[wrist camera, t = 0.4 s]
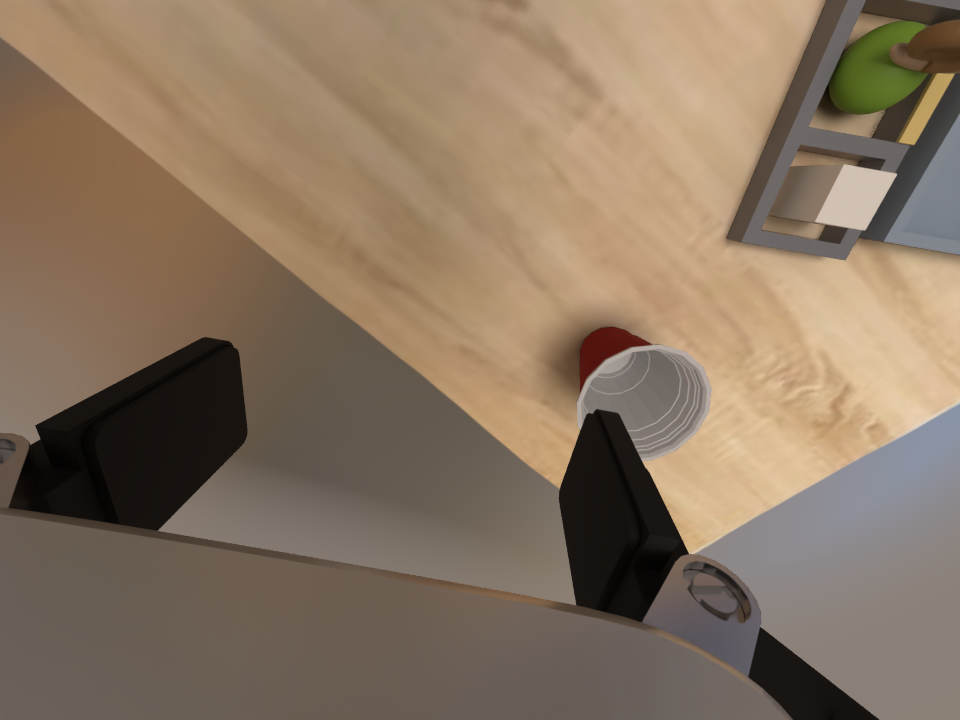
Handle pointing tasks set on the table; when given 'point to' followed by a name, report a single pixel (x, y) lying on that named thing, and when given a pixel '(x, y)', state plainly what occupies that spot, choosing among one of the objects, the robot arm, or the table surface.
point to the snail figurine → (893, 64)
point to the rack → (791, 132)
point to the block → (832, 195)
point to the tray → (926, 186)
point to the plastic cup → (643, 389)
